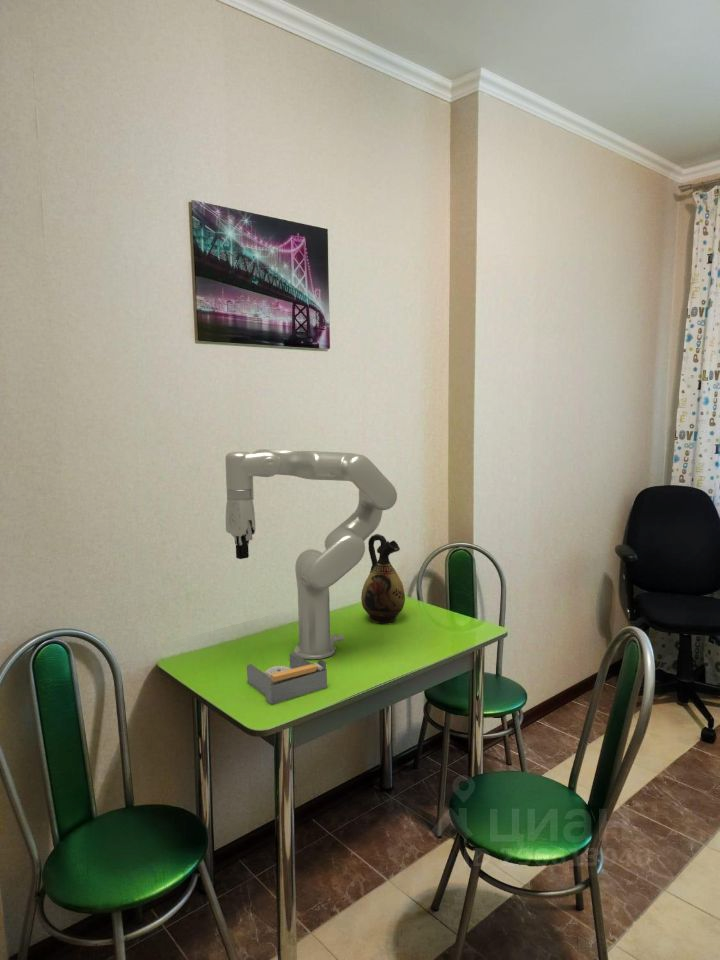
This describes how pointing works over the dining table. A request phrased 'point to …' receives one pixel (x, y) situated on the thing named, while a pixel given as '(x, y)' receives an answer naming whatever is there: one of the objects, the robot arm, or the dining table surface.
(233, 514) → the robot arm
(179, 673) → the dining table surface
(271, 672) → the mechanical component
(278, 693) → the bracket
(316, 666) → the bar
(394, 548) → the ceramic jug
